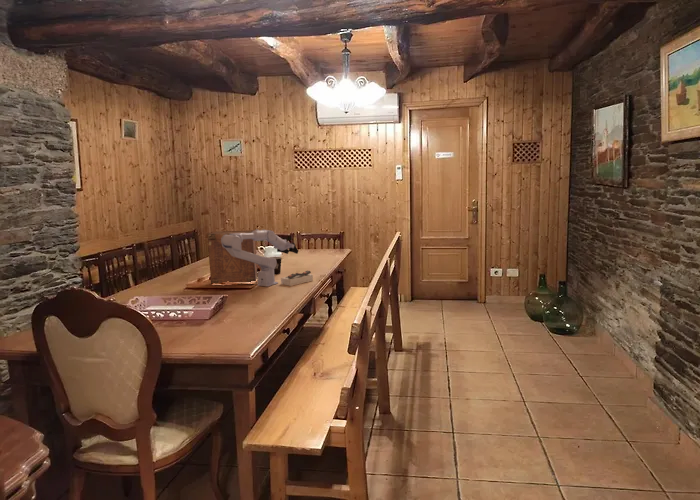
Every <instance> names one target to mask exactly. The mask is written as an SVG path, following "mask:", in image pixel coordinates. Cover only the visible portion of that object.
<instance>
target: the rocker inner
mask: <svg viewBox="0 0 700 500" xmlns="http://www.w3.org/2000/svg"><path fill="white" fill-rule="evenodd" d="M287 277H288V278H290V279H292V278H294V277H296V273H292V274H289V275H288V276H287Z"/></svg>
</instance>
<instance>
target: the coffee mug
mask: <svg viewBox="0 0 700 500" xmlns="http://www.w3.org/2000/svg"><path fill="white" fill-rule="evenodd" d="M270 258H275V259H276V261H277V264H276V267H275V269H274V276H275V275H276V276H277V275H280V274H281V271H282V257H281V256H271V257H270Z"/></svg>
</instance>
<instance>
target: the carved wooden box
mask: <svg viewBox="0 0 700 500" xmlns="http://www.w3.org/2000/svg"><path fill="white" fill-rule="evenodd" d="M252 231H255V229H251V230H229V231H228V230H225V231H211V233H207V245H208V246H207V248H208V260H209V262H208V263H209V277H210V284H211V283H222V282H227V281H229V282H251V281H256V279H257V280H258V264H256V263H253V262H250V261H246V260H243V259H239V258H236V257H233V256H231V254H230V253H229V252H228V251H227V250H226V249H225V248H224V247H223V246H222V243H221V238H222V236H223V235H225V234H227V235H229V234H233V233H252ZM256 242H257V241H253V240H252V239H244V240H243V242H241V250H243V251H246V252H249V253H253V254H256V255H257V246H256V245H257V243H256Z"/></svg>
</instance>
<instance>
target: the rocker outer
mask: <svg viewBox="0 0 700 500" xmlns="http://www.w3.org/2000/svg"><path fill="white" fill-rule="evenodd" d="M301 273H302V274H304V275H308V274H311V271H310V270H305V271H304V272H301Z"/></svg>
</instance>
